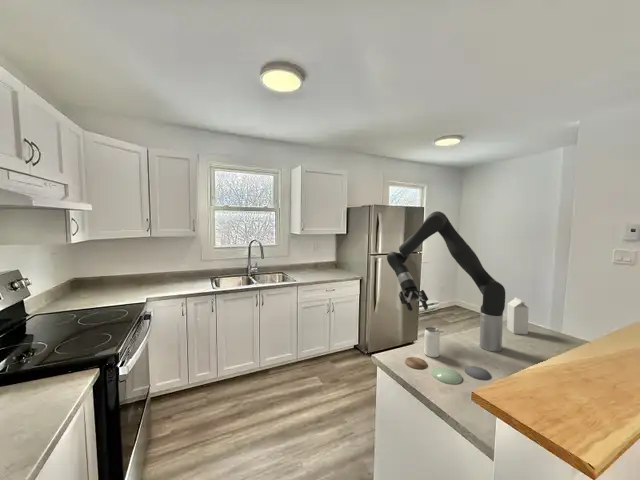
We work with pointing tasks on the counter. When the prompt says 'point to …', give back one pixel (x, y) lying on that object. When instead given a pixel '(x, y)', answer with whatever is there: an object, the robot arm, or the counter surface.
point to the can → (431, 342)
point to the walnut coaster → (415, 363)
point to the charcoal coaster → (477, 372)
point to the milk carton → (517, 317)
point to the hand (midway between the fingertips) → (419, 309)
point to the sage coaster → (446, 375)
